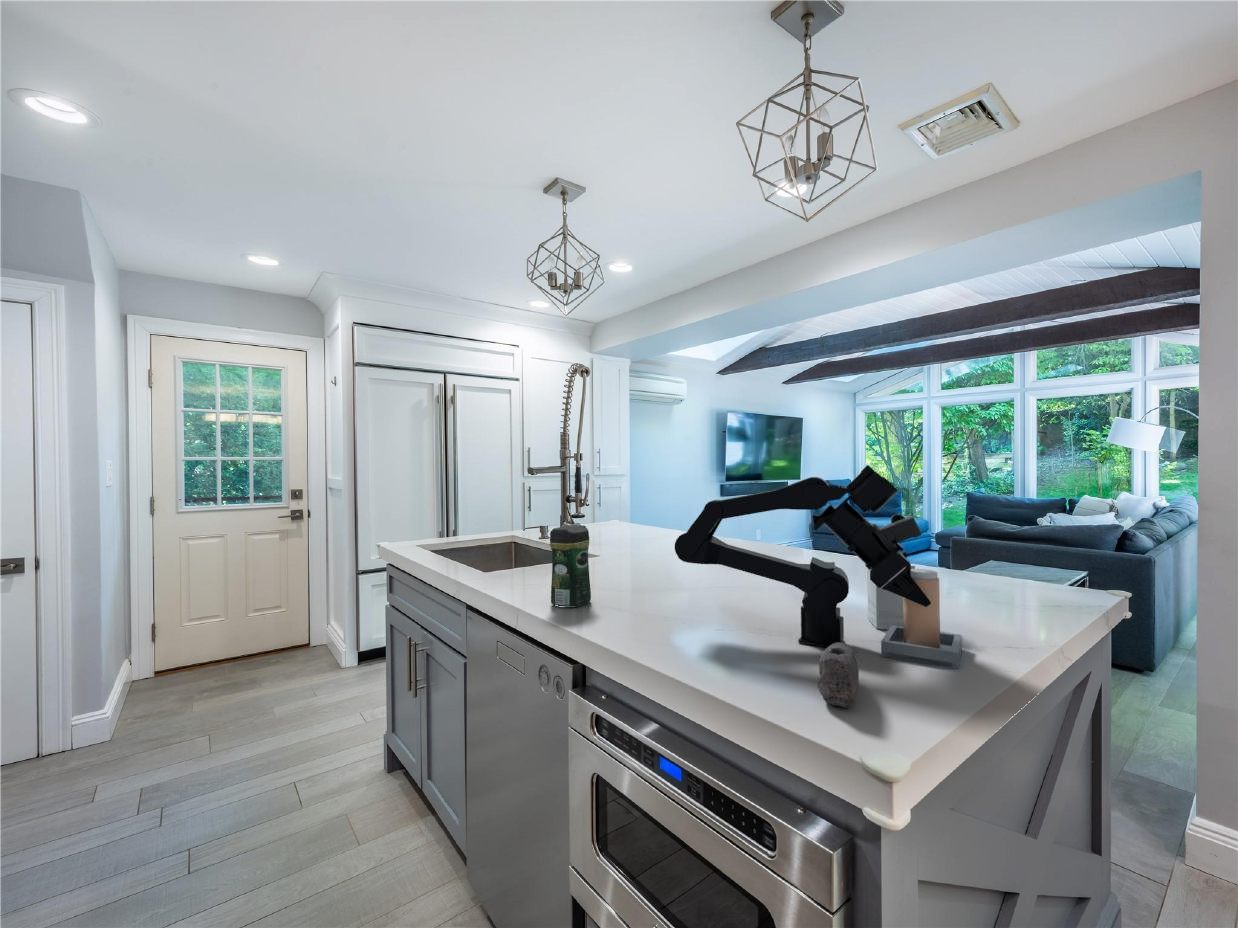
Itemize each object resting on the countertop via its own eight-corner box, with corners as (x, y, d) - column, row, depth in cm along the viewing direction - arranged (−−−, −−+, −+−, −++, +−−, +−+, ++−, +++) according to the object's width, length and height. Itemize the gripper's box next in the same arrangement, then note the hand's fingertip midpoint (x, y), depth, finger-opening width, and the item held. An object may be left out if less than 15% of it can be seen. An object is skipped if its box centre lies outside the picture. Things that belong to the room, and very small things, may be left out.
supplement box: (917, 631, 107) (916, 565, 107) (875, 629, 109) (874, 564, 109) (905, 620, 114) (904, 559, 114) (866, 619, 116) (866, 558, 116)
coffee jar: (569, 597, 138) (568, 522, 138) (596, 601, 134) (595, 524, 134) (544, 606, 130) (543, 526, 130) (571, 610, 126) (570, 528, 126)
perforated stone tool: (825, 672, 87) (824, 628, 87) (862, 677, 85) (861, 632, 85) (814, 711, 73) (813, 658, 73) (857, 719, 71) (856, 664, 71)
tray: (881, 655, 94) (881, 641, 94) (891, 638, 103) (891, 625, 103) (957, 668, 88) (957, 652, 88) (961, 649, 97) (961, 634, 97)
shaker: (912, 652, 93) (911, 574, 93) (898, 642, 98) (897, 568, 98) (946, 653, 92) (945, 574, 92) (930, 642, 98) (929, 568, 98)
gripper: (891, 503, 89) (974, 577, 84) (888, 496, 106) (957, 558, 101) (839, 550, 92) (916, 624, 87) (844, 536, 109) (908, 598, 104)
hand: (926, 598), depth 95 cm, fingers open, 9 cm apart
